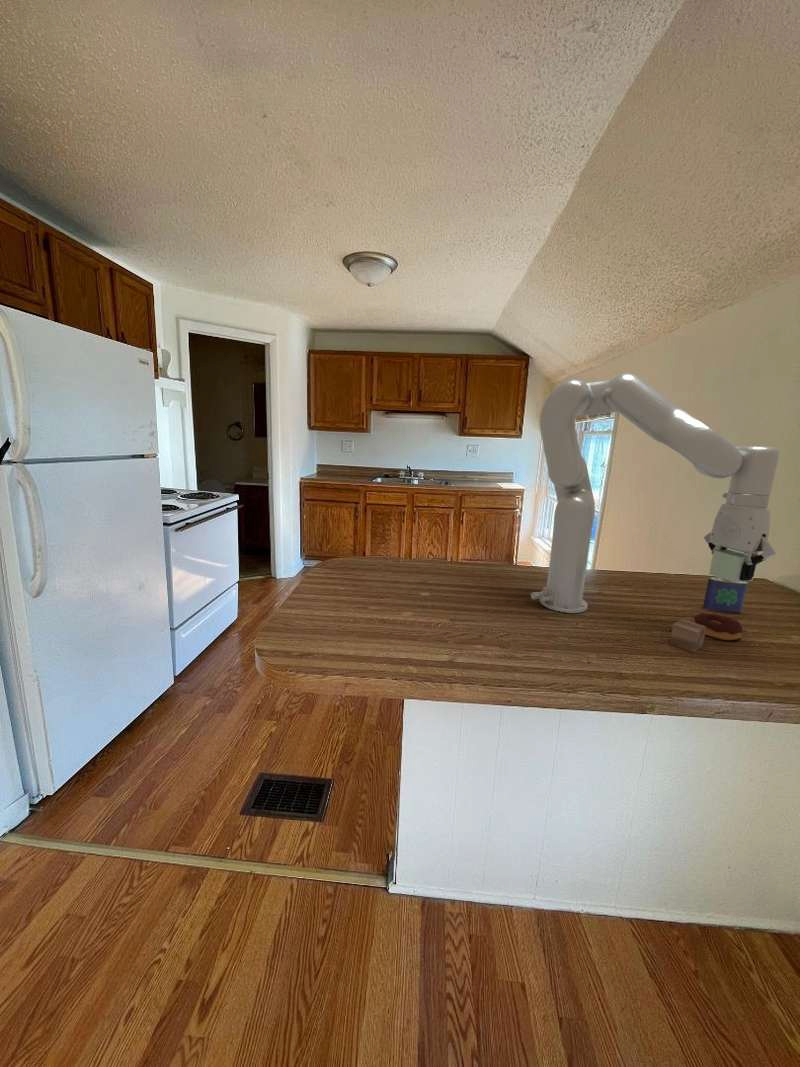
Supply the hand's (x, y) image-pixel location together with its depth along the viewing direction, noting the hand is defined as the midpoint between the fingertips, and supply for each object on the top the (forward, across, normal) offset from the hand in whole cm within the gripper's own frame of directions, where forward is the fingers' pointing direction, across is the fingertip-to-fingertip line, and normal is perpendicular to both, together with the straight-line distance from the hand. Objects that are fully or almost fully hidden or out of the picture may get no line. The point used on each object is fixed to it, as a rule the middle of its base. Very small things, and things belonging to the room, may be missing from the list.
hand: (730, 574), depth 102 cm
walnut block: (+15, +3, -14) cm, 21 cm away
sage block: (+1, 0, 0) cm, 1 cm away
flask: (+15, -10, +15) cm, 24 cm away
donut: (+15, 0, -1) cm, 15 cm away
